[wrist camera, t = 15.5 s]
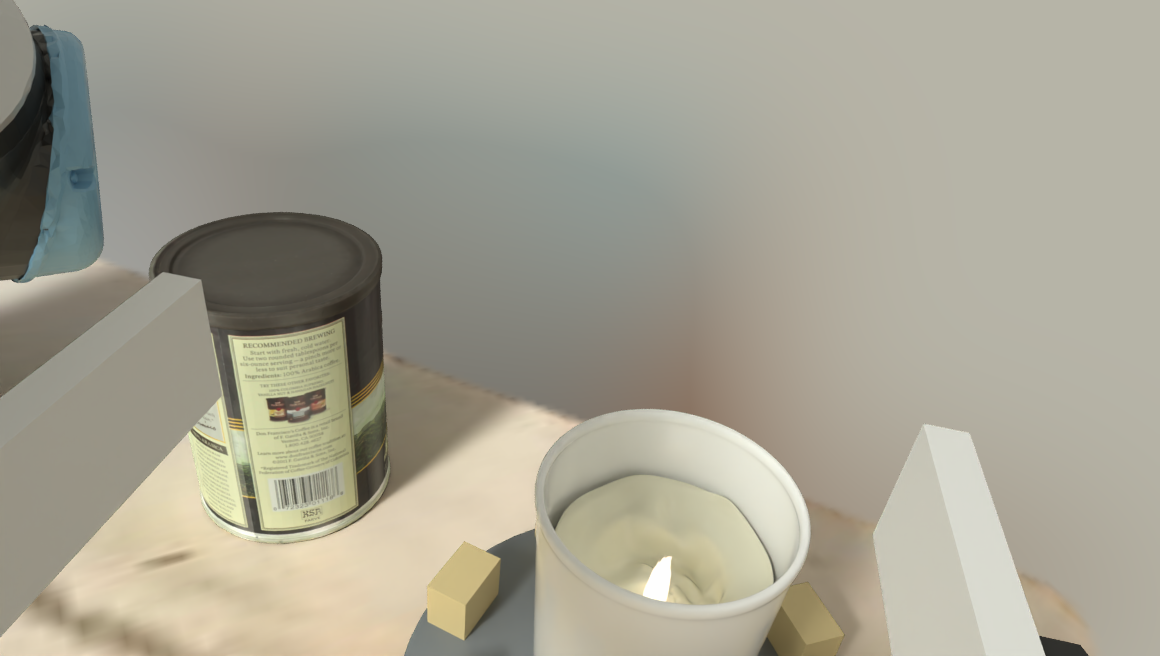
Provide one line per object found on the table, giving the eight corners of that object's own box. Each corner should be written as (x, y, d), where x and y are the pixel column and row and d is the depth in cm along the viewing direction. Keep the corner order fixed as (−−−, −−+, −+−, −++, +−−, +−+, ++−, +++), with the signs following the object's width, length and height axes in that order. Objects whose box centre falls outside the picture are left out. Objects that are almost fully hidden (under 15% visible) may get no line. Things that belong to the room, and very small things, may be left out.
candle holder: (596, 862, 29) (644, 662, 23) (476, 652, 36) (486, 451, 29) (787, 734, 34) (871, 540, 28) (650, 571, 41) (691, 382, 34)
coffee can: (318, 395, 51) (298, 193, 44) (427, 475, 46) (426, 262, 39) (160, 475, 44) (104, 250, 37) (269, 579, 39) (230, 344, 32)
